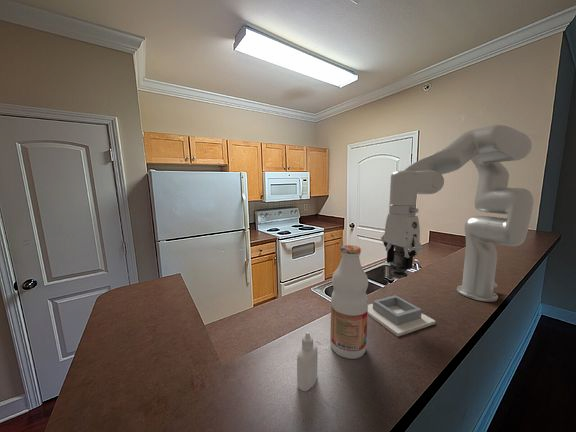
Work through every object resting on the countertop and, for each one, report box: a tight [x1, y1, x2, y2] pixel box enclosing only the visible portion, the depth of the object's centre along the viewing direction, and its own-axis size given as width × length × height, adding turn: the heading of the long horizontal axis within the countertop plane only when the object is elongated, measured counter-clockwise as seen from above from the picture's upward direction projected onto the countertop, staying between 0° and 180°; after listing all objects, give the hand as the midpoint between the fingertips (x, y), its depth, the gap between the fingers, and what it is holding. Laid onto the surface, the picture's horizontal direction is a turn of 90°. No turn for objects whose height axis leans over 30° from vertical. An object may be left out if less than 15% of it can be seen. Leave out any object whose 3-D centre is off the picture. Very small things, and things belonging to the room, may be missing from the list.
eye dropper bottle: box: [296, 331, 318, 392], centre depth 50 cm, size 4×6×12 cm
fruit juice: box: [329, 244, 369, 360], centre depth 60 cm, size 9×9×28 cm
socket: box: [367, 294, 436, 337], centre depth 76 cm, size 16×16×4 cm
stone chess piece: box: [388, 246, 408, 278], centre depth 73 cm, size 6×6×12 cm
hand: (398, 265), depth 74 cm, fingers closed on stone chess piece, 5 cm apart
